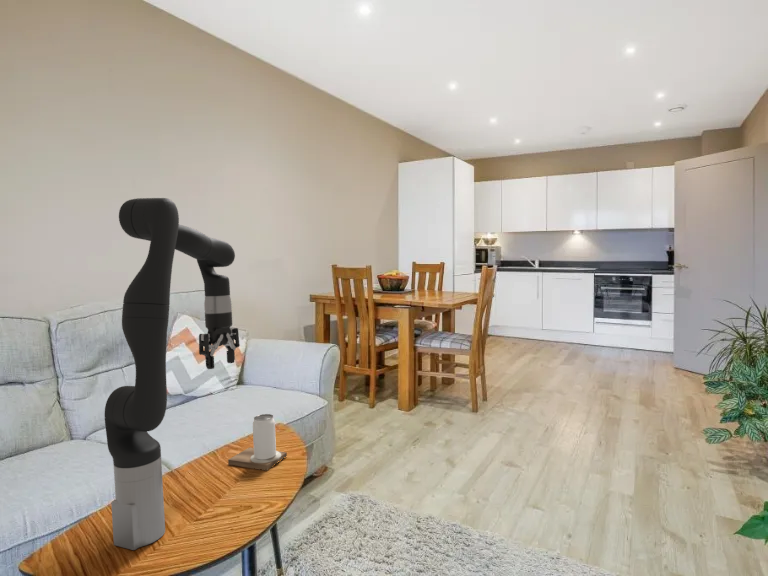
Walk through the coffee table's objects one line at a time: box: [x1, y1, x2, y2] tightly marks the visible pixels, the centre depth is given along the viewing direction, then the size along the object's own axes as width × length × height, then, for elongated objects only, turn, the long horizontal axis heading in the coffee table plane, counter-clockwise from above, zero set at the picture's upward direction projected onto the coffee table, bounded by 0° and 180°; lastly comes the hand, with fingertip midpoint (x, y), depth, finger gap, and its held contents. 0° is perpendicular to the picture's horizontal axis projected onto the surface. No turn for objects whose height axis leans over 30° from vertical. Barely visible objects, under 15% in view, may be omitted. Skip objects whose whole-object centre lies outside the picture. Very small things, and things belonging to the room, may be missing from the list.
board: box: [227, 447, 288, 471], centre depth 142 cm, size 10×14×2 cm
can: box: [252, 413, 277, 460], centre depth 140 cm, size 6×6×12 cm
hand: (221, 365), depth 138 cm, fingers open, 8 cm apart
